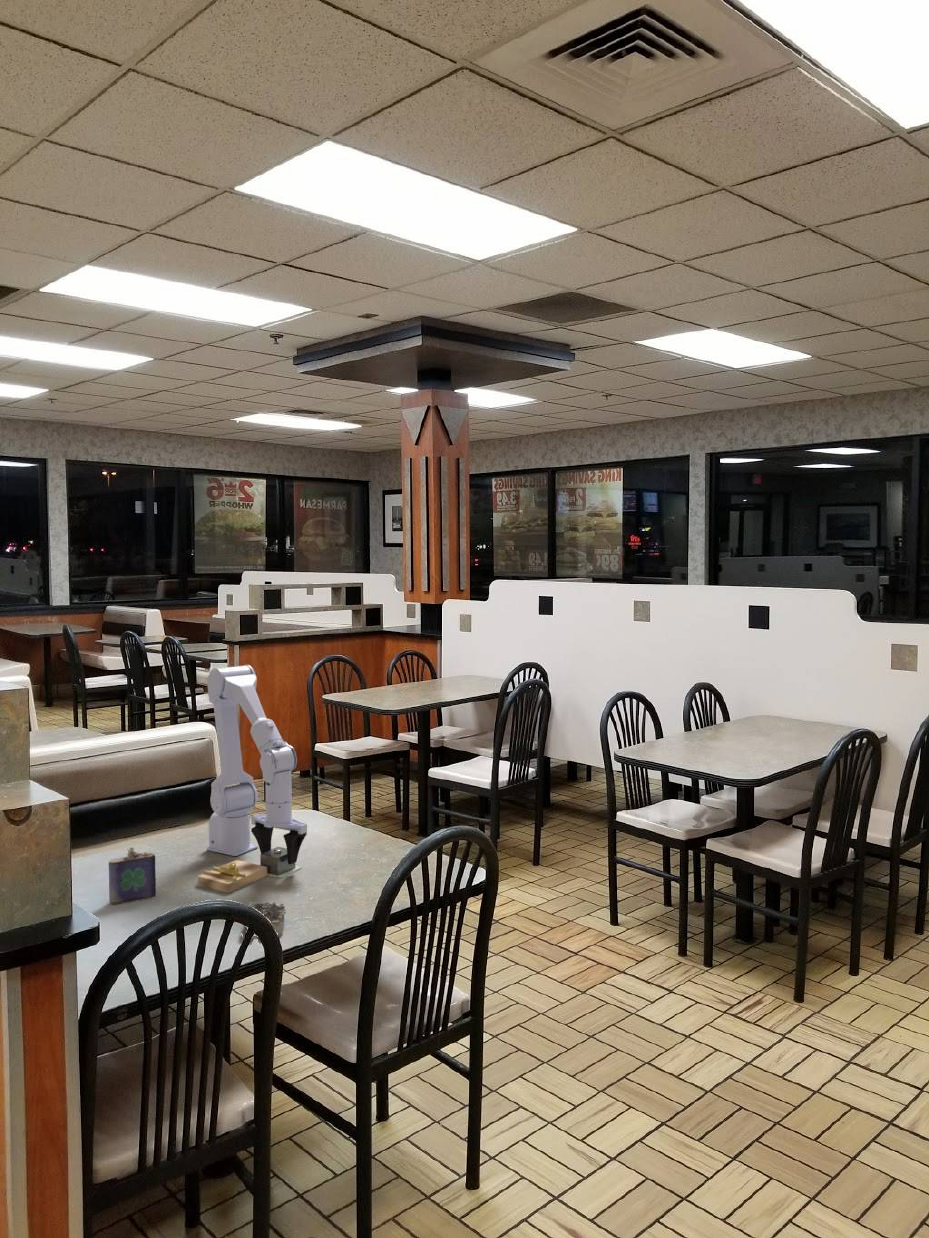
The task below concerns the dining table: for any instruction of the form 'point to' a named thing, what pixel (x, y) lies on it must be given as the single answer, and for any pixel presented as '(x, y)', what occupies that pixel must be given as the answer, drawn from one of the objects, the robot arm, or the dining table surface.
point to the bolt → (230, 870)
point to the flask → (132, 877)
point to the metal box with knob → (276, 861)
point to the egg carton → (271, 914)
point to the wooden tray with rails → (229, 883)
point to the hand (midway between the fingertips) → (279, 859)
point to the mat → (286, 872)
